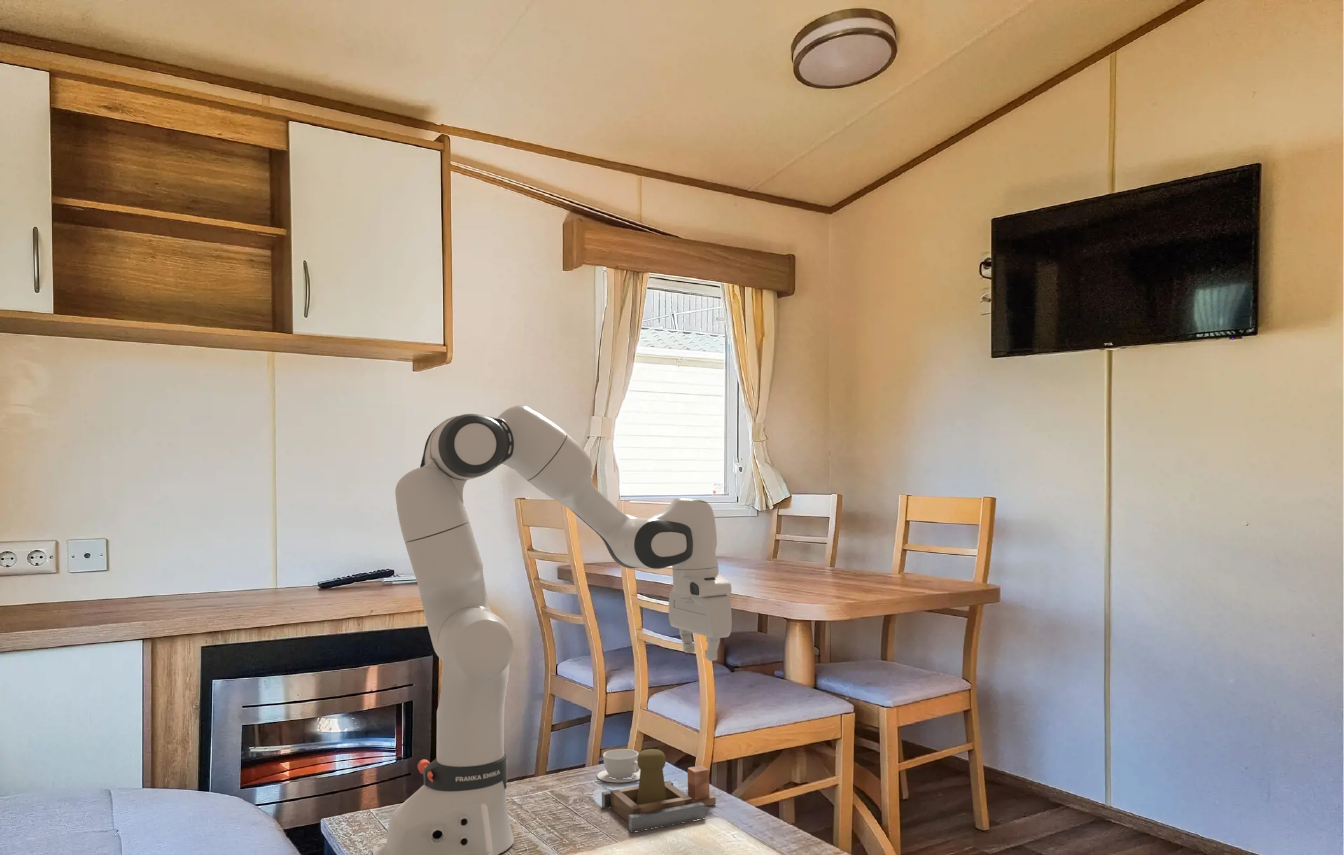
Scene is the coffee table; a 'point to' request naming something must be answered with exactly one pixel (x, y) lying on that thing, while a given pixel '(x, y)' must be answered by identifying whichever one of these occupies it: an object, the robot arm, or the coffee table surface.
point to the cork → (651, 776)
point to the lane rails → (660, 814)
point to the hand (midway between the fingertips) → (700, 656)
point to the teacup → (620, 765)
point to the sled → (697, 792)
